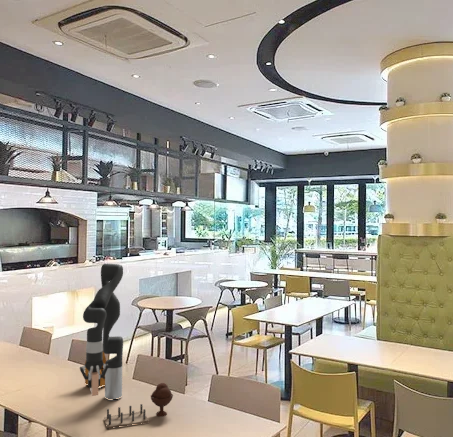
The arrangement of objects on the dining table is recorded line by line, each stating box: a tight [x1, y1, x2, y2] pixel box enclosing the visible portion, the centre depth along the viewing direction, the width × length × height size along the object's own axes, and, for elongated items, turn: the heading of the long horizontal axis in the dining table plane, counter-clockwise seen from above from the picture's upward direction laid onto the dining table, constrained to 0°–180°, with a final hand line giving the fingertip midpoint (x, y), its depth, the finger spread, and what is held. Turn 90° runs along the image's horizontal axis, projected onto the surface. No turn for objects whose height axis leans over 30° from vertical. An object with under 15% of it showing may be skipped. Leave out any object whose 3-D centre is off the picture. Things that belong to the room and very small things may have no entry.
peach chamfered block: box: [89, 372, 99, 397], centre depth 216 cm, size 10×3×10 cm, turn 22°
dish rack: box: [103, 403, 149, 429], centre depth 221 cm, size 12×19×6 cm, turn 112°
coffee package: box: [84, 352, 107, 386], centre depth 270 cm, size 10×12×22 cm
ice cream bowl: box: [150, 382, 174, 417], centre depth 229 cm, size 11×11×15 cm
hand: (94, 386), depth 216 cm, fingers closed on peach chamfered block, 2 cm apart
